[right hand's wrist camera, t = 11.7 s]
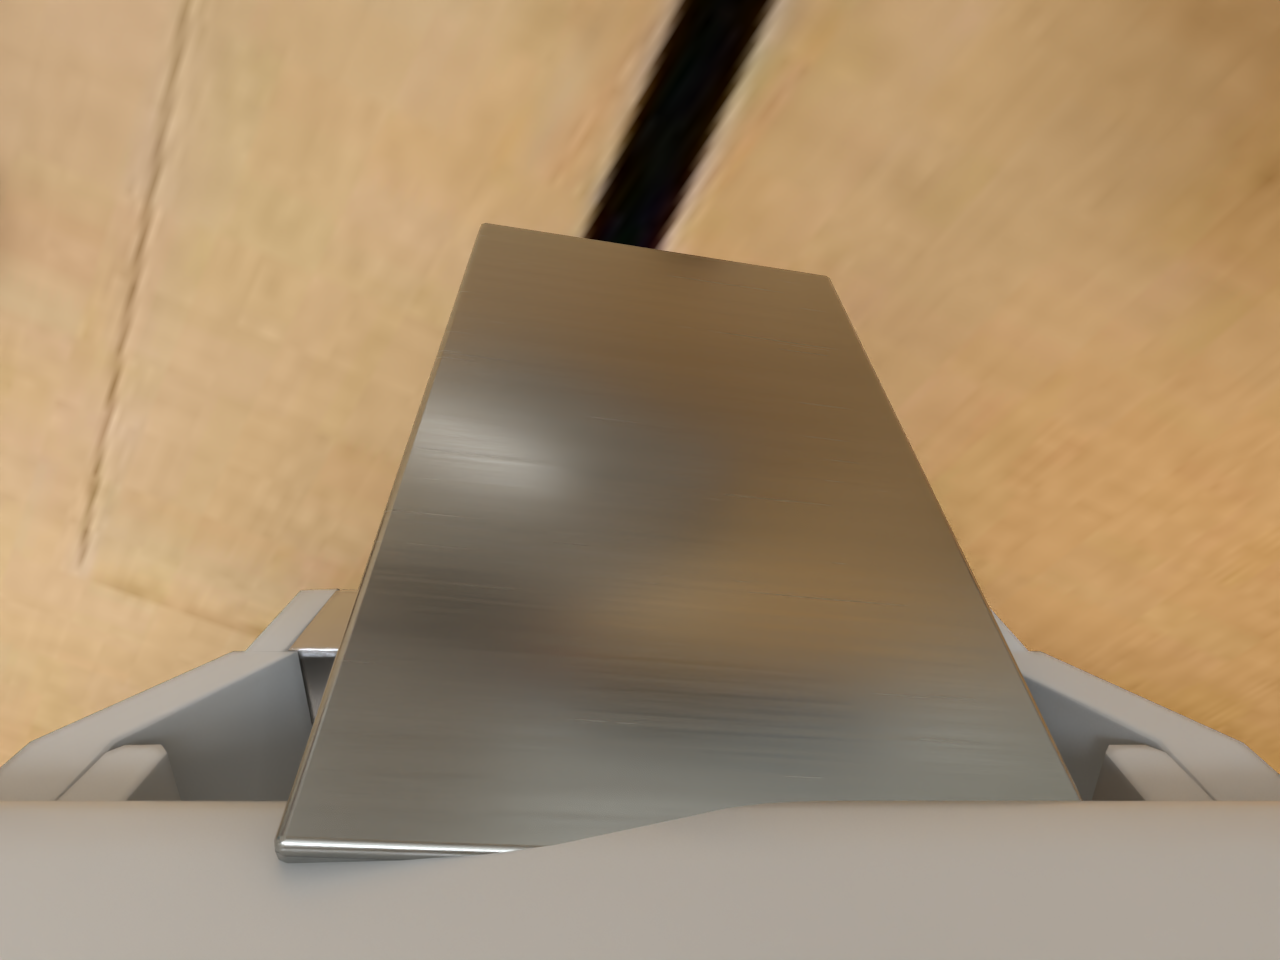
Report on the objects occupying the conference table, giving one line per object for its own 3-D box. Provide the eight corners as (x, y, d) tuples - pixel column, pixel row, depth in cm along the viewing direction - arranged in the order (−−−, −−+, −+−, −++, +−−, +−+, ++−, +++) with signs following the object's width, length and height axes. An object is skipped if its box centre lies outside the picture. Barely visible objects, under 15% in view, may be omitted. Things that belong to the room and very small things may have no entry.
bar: (480, 219, 11) (266, 849, 4) (830, 274, 12) (1128, 880, 5) (465, 857, 29) (418, 1182, 22) (607, 862, 30) (605, 1176, 23)
